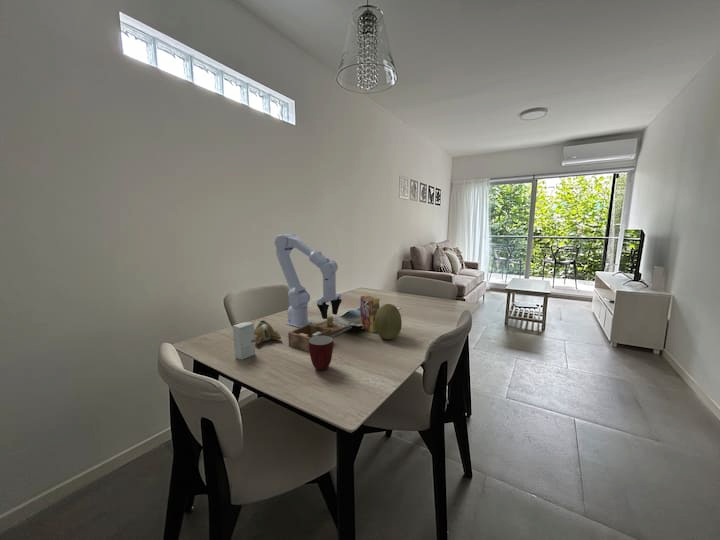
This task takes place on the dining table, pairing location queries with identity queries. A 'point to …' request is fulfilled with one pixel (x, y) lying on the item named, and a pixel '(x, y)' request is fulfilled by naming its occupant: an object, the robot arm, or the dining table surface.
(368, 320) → the candy box
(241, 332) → the skincare box
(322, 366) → the mug
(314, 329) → the box
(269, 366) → the dining table surface
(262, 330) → the ceramic sculpture
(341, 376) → the dining table surface
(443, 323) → the dining table surface
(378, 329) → the fruit
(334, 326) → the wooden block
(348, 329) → the mat
